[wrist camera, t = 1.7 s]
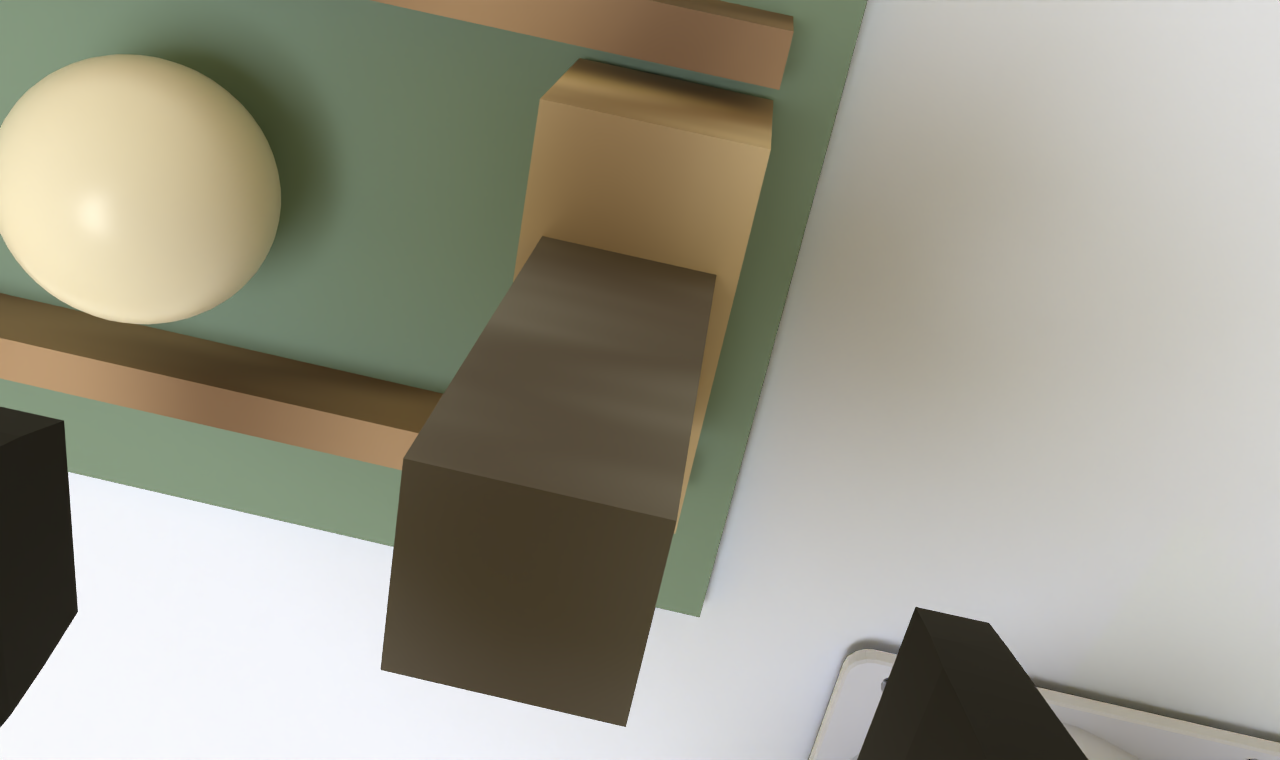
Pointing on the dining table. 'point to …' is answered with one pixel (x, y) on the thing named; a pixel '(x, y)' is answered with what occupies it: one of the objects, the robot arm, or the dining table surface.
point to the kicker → (580, 399)
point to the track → (325, 397)
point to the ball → (136, 189)
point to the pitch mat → (404, 230)
